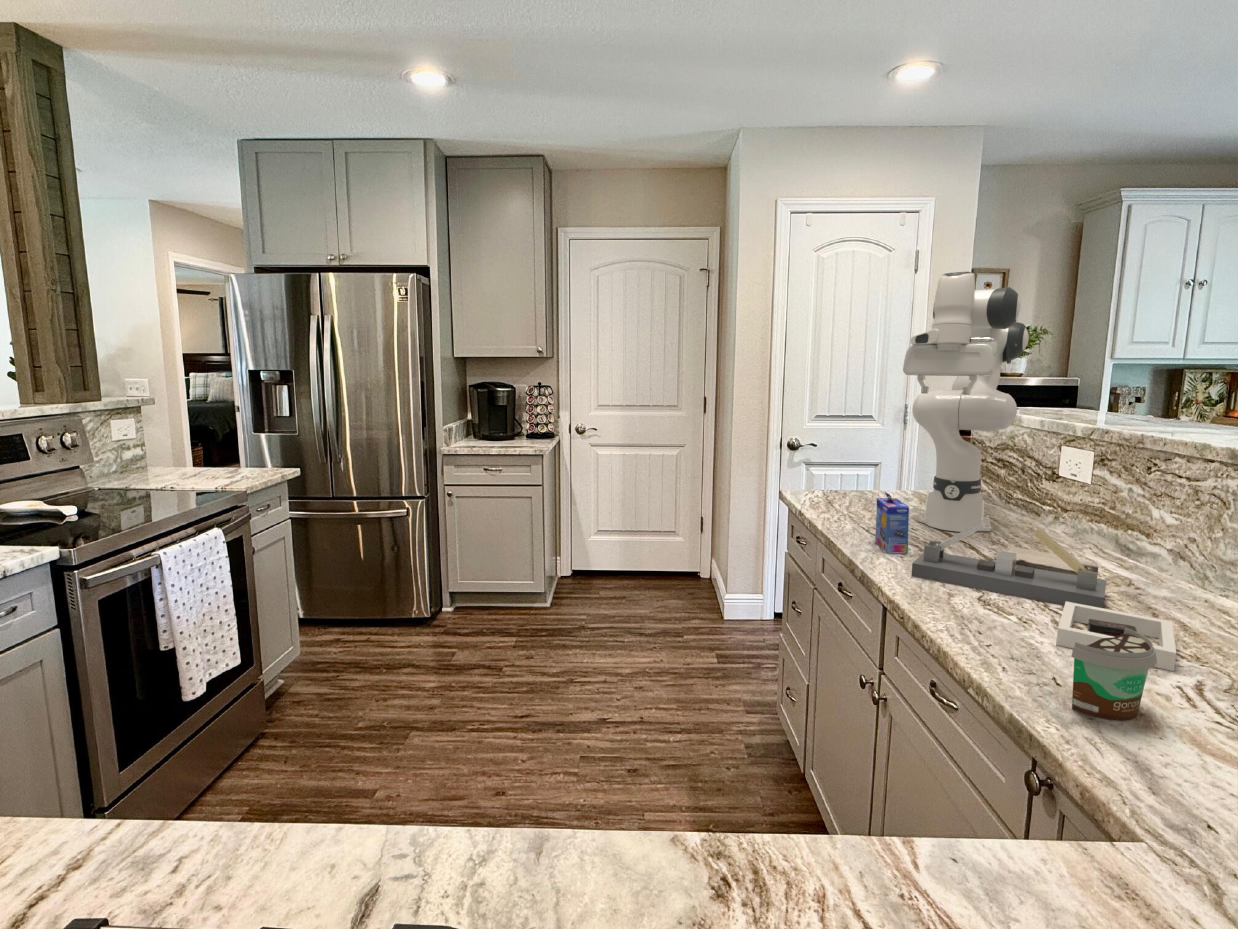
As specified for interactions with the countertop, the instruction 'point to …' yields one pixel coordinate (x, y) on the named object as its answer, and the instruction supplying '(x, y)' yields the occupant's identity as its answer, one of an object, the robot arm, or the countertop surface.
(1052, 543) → the brass strap
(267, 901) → the countertop surface
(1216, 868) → the countertop surface
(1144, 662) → the food container
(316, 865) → the countertop surface
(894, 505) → the ink cartridge box
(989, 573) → the lug board
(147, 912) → the countertop surface
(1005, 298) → the robot arm
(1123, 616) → the white square frame
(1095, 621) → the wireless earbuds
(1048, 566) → the washcloth
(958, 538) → the steel strap
